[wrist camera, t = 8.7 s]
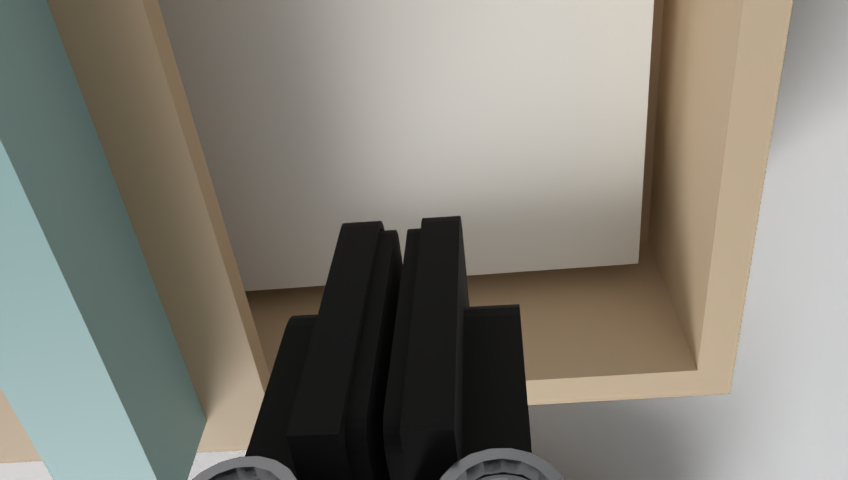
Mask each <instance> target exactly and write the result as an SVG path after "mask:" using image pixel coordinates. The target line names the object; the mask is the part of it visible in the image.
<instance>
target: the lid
mask: <svg viewBox="0 0 848 480" xmlns="http://www.w3.org/2000/svg"><path fill="white" fill-rule="evenodd" d="M269 379H270V374H269V370H268V367H267V364H266V360H265V357H264V354H263V350H262V347H261V344H260V340H259V337H258V334H257V330H256V327H255V324H254V320H253V317H252V314H251V310H250V307H249V304H248V300H247V297H246V294H245V290H244V287H243V284H242V280H241V277H240V274H239V270H238V267H237V264H236V260H235V257H234V254H233V250H232V247H231V244H230V240H229V237H228V234H227V230H226V227H225V224H224V220H223V217H222V214H221V210H220V207H219V204H218V200H217V197H216V194H215V190H214V187H213V184H212V180H211V177H210V174H209V170H208V167H207V164H206V160H205V157H204V154H203V150H202V147H201V144H200V140H199V137H198V134H197V130H196V127H195V124H194V120H193V117H192V114H191V110H190V107H189V104H188V100H187V97H186V94H185V90H184V87H183V84H182V80H181V77H180V74H179V70H178V67H177V64H176V60H175V57H174V54H173V50H172V47H171V44H170V40H169V37H168V34H167V30H166V27H165V24H164V20H163V17H162V14H161V10H160V7H159V4H158V0H0V463H14V462H33V461H43V463H44V464H45V466H46V468H47V469H48V471H49V473H50V475H51V476H52V478H53V480H187V479H188V476H189V473H190V470H191V467H192V464H193V461H194V458H195V455H196V453H202V452H220V451H239V450H247V449H248V446H249V442H250V439H251V436H252V433H253V430H254V426H255V423H256V420H257V417H258V414H259V411H260V407H261V404H262V401H263V398H264V395H265V391H266V388H267V385H268V382H269Z"/></svg>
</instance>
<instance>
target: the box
mask: <svg viewBox="0 0 848 480" xmlns="http://www.w3.org/2000/svg"><path fill="white" fill-rule="evenodd" d="M158 4H159V7H160V10H161V14H162V17H163V20H164V24H165V27H166V30H167V34H168V37H169V40H170V44H171V47H172V50H173V54H174V57H175V60H176V64H177V67H178V70H179V74H180V77H181V80H182V84H183V87H184V90H185V94H186V97H187V100H188V104H189V107H190V110H191V114H192V117H193V120H194V124H195V127H196V130H197V134H198V137H199V140H200V144H201V147H202V150H203V154H204V157H205V160H206V164H207V167H208V170H209V174H210V177H211V180H212V184H213V187H214V190H215V194H216V197H217V200H218V204H219V207H220V210H221V214H222V217H223V220H224V224H225V227H226V230H227V234H228V237H229V240H230V244H231V247H232V250H233V254H234V257H235V260H236V264H237V267H238V270H239V274H240V277H241V280H242V284H243V287H244V290H245V294H246V297H247V300H248V304H249V307H250V310H251V314H252V317H253V320H254V324H255V327H256V330H257V334H258V337H259V340H260V344H261V347H262V350H263V354H264V357H265V360H266V364H267V367H268V370H269V374H270V375H271V372H272V369H273V366H274V363H275V359H276V356H277V353H278V350H279V347H280V343H281V340H282V337H283V334H284V331H285V327H286V325H287V323H288V320H289V319H290V318H291V317H292V316H297V315H316V314H318V312H319V308H320V304H321V301H322V297H323V293H324V289H325V285H326V282H327V278H328V274H329V270H330V267H331V263H332V259H333V255H334V251H335V248H336V244H337V240H338V236H339V233H340V229H341V226H342V224H343V223H352V222H368V221H382V223H383V226H384V230H397V232H398V236H399V242H400V249H401V255H402V262H403V259H404V252H405V244H406V236H407V230H408V229H417V228H421V221H422V218H432V217H447V216H461V222H462V231H463V241H464V252H465V263H466V273H467V284H468V294H469V305H470V307H473V306H492V305H512V304H519V305H520V316H521V328H522V340H523V353H524V365H525V377H526V389H527V402H528V405H541V404H558V403H576V402H594V401H611V400H629V399H647V398H664V397H682V396H700V395H718V394H730V391H731V385H732V378H733V372H734V366H735V360H736V354H737V347H738V341H739V335H740V329H741V322H742V316H743V310H744V304H745V297H746V291H747V285H748V279H749V273H750V266H751V260H752V254H753V248H754V241H755V235H756V229H757V223H758V216H759V210H760V204H761V198H762V191H763V185H764V179H765V173H766V167H767V160H768V154H769V148H770V142H771V135H772V129H773V123H774V117H775V110H776V104H777V98H778V92H779V86H780V79H781V73H782V67H783V61H784V54H785V48H786V42H787V36H788V29H789V23H790V17H791V11H792V5H793V0H158Z"/></svg>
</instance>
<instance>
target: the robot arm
mask: <svg viewBox="0 0 848 480" xmlns="http://www.w3.org/2000/svg"><path fill="white" fill-rule="evenodd" d="M192 480H565V479H564V477H563V475H562V474H561V473H560V472H559V471H558V470H557V469H556V468H555V467H553V466H552V465H551V464H550V463H549V462H548V461H546V460H544V459H542V458H540V457H538V456H536V455H535V454H533V453H532V451H531V438H530V426H529V414H528V402H527V389H526V377H525V365H524V353H523V340H522V328H521V316H520V305H519V304H512V305H492V306H473V307H470V305H469V294H468V284H467V273H466V263H465V252H464V241H463V231H462V222H461V216H447V217H432V218H422V221H421V228H417V229H408V230H407V236H406V244H405V252H404V259H403V262H402V255H401V249H400V242H399V236H398V232H397V230H384V226H383V223H382V221H368V222H352V223H343V224H342V226H341V229H340V233H339V236H338V240H337V244H336V248H335V251H334V255H333V259H332V263H331V267H330V270H329V274H328V278H327V282H326V285H325V289H324V293H323V297H322V301H321V304H320V308H319V312H318V314H316V315H297V316H292V317H291V318H290V319H289V320H288V323H287V325H286V327H285V331H284V334H283V337H282V340H281V343H280V347H279V350H278V353H277V356H276V359H275V363H274V366H273V369H272V372H271V375H270V379H269V382H268V385H267V388H266V391H265V395H264V398H263V401H262V404H261V407H260V411H259V414H258V417H257V420H256V423H255V426H254V430H253V433H252V436H251V439H250V442H249V446H248V449H247V452H246V455H245V457H237V458H233V459H230V460H226V461H223V462H219V463H218V464H216V465H214V466H212V467H210V468H208V469H206V470H204V471H202V472H201V473H199V474H198V475H197V476H196V477H195V478H193V479H192Z"/></svg>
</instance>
